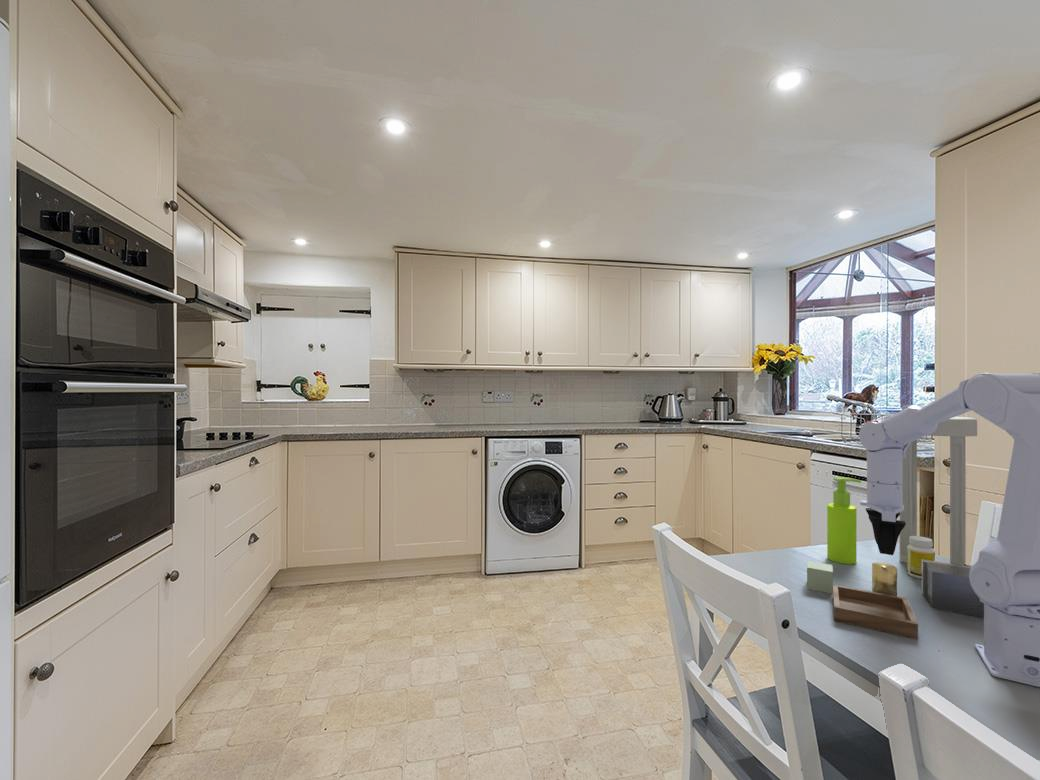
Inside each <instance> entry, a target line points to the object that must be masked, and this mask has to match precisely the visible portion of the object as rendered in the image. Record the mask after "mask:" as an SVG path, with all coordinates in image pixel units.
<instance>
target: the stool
mask: <svg viewBox="0 0 1040 780" xmlns="http://www.w3.org/2000/svg"><path fill="white" fill-rule="evenodd" d="M928 436H930V437H931V436H932V437H933V436H935V437H949V499H950V500H949V558H950V559H949V564H956V565H963V566H965V564H966V559H967V558H966V553H967V552H966V549H967V548H966V545H967V543H966V541H967V540H966V533H967V531H966V528H967V527H966V520H967V519H966V518H967V517H966V515H967V514H966V512H967V511H966V509H967V507H966V505H967V504H966V495H967V493H966V483H967V482H966V479H967V478H966V472H967V471H966V468H967V467H966V465H967V464H966V463H967V462H966V458H967V457H966V452H967V451H966V447H967V446H966V443H967V441H966V440H967V439H966V438H967V437H977V436H978V419H977V418H975V417H969V416H968V417H966V416H956V417H953V418H950V419H948V420H945V421H942V422H940V423H938V427H937V429H936V431H935V432H933V433H932V434H929V435H928ZM917 447H918V439H917V440H915V441H913V442H911V443H910V445H909V447H908V448H907V450H906V457H905V459H903V506H904V510H903V511H901V512H900V515H899V521H905V522H906V525H905V527H904V528H903V529H902V531H901V532H900V534H899V562H900V563H905V564H907V546H908V545H909V544H910V543H909V537H910V536H918V521H917V520H918V514H917V513H918V506H917V505H918V500H917V499H918V495H917V494H918V491H917V490H918V475H917V473H918V463H917V462H918V459H917V457H918V453H917V452H918V448H917Z"/></svg>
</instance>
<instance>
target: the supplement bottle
mask: <svg viewBox="0 0 1040 780" xmlns="http://www.w3.org/2000/svg"><path fill="white" fill-rule="evenodd" d="M933 542H934V541H933V539H931V538H930V537H925V536H920V535H917V536H910V537H909V543H910V544H909V545H908V546H907V563H906V569H907V570H906V573H907V574H908V575H909V576H911V577H913V578H916V579H919V580H922V560H929V561H936V551H935V549H934V548H933V546H934V544H933Z"/></svg>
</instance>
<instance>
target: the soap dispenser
mask: <svg viewBox="0 0 1040 780" xmlns="http://www.w3.org/2000/svg"><path fill="white" fill-rule="evenodd" d="M833 481H835V482H837V489H834V490H833V493H832V494H833V498H832V499H833V501H832V503H827V504H826V505H827V508H826V513H827V517H826V519H827V523H826V524H827V528H826V529H827V533H826V535H827V541H826V542H827V544H826V545H827V546H826V547H827V550H826V551H827V552H826V553H827V554H826V556H827V559H828V560H830V561H832V562H836V563H840V564H845V565H854V564H856V563H857V506H854V505H852V504H851V492H850V491H848V490H847V482H854V483H859V484H860V483H862V480H860V479H856V478H852V477H843V476H841V477H833Z"/></svg>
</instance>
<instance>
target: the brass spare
mask: <svg viewBox="0 0 1040 780" xmlns="http://www.w3.org/2000/svg"><path fill="white" fill-rule="evenodd" d="M871 580H872V581H871V582H872V583H871V592H877V593H882V594H887V595H893V596H898V568H897V567H896V566H894V565H893V564H890V563H885V562H872V564H871Z"/></svg>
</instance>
